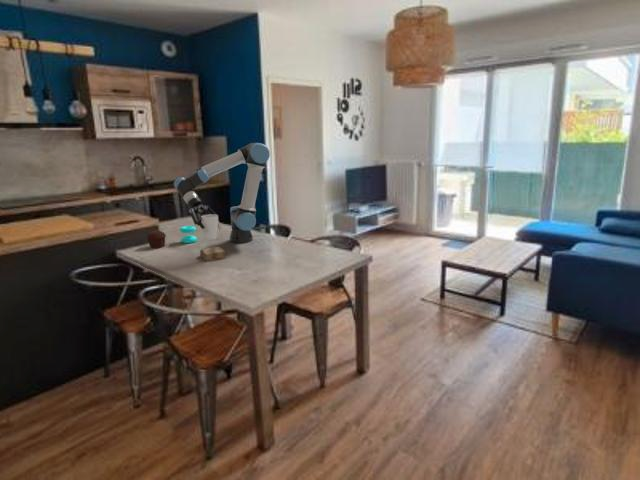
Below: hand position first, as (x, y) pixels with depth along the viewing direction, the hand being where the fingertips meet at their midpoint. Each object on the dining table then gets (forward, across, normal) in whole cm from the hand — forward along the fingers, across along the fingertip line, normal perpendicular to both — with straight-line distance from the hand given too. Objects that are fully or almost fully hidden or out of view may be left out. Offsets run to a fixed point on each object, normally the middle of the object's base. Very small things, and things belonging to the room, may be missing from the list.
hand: (214, 230), depth 233 cm
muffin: (-24, +2, -48) cm, 54 cm away
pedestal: (+9, 0, -14) cm, 17 cm away
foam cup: (+1, 0, -6) cm, 6 cm away
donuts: (-18, -16, -42) cm, 48 cm away
